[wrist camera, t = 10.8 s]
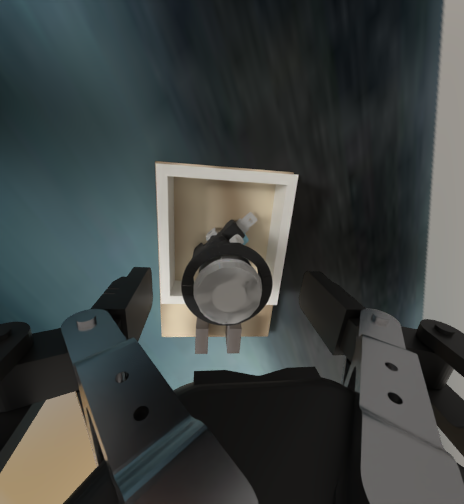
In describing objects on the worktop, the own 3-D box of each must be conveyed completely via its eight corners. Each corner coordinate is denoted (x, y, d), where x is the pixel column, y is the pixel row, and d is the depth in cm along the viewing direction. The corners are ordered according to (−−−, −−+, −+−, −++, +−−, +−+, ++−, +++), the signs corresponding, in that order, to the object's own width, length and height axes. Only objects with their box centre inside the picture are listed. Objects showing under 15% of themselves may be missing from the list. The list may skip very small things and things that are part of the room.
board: (163, 329, 26) (155, 358, 22) (158, 161, 20) (145, 159, 16) (265, 329, 27) (274, 356, 23) (289, 172, 21) (307, 172, 17)
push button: (234, 192, 20) (256, 210, 11) (269, 234, 22) (315, 283, 12) (180, 239, 21) (157, 295, 12) (218, 277, 23) (224, 351, 13)
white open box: (166, 287, 22) (160, 303, 20) (163, 164, 19) (155, 163, 16) (268, 289, 24) (277, 305, 21) (285, 174, 20) (298, 174, 17)
